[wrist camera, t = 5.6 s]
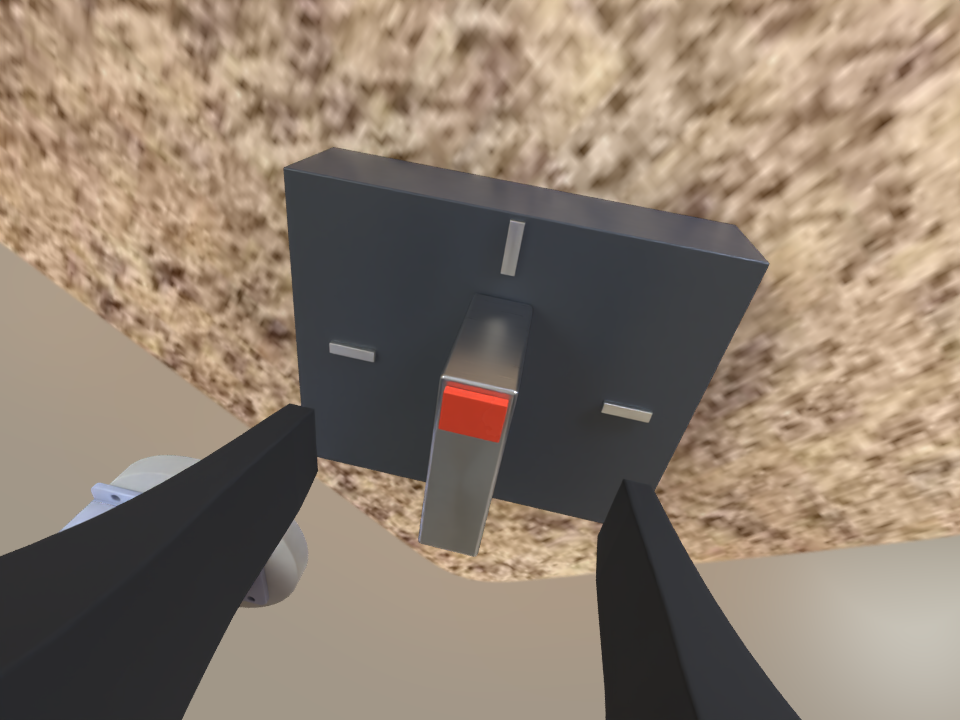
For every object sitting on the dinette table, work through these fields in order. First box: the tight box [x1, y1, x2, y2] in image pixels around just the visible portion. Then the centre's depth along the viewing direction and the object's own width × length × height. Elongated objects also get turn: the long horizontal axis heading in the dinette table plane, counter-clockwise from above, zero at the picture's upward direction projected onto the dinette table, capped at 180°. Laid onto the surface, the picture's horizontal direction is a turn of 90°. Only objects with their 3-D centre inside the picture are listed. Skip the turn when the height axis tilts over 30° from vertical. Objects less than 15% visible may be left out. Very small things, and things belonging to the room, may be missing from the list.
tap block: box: [284, 147, 769, 523], centre depth 16 cm, size 12×10×3 cm
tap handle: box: [418, 294, 533, 557], centre depth 13 cm, size 6×2×4 cm, turn 171°
